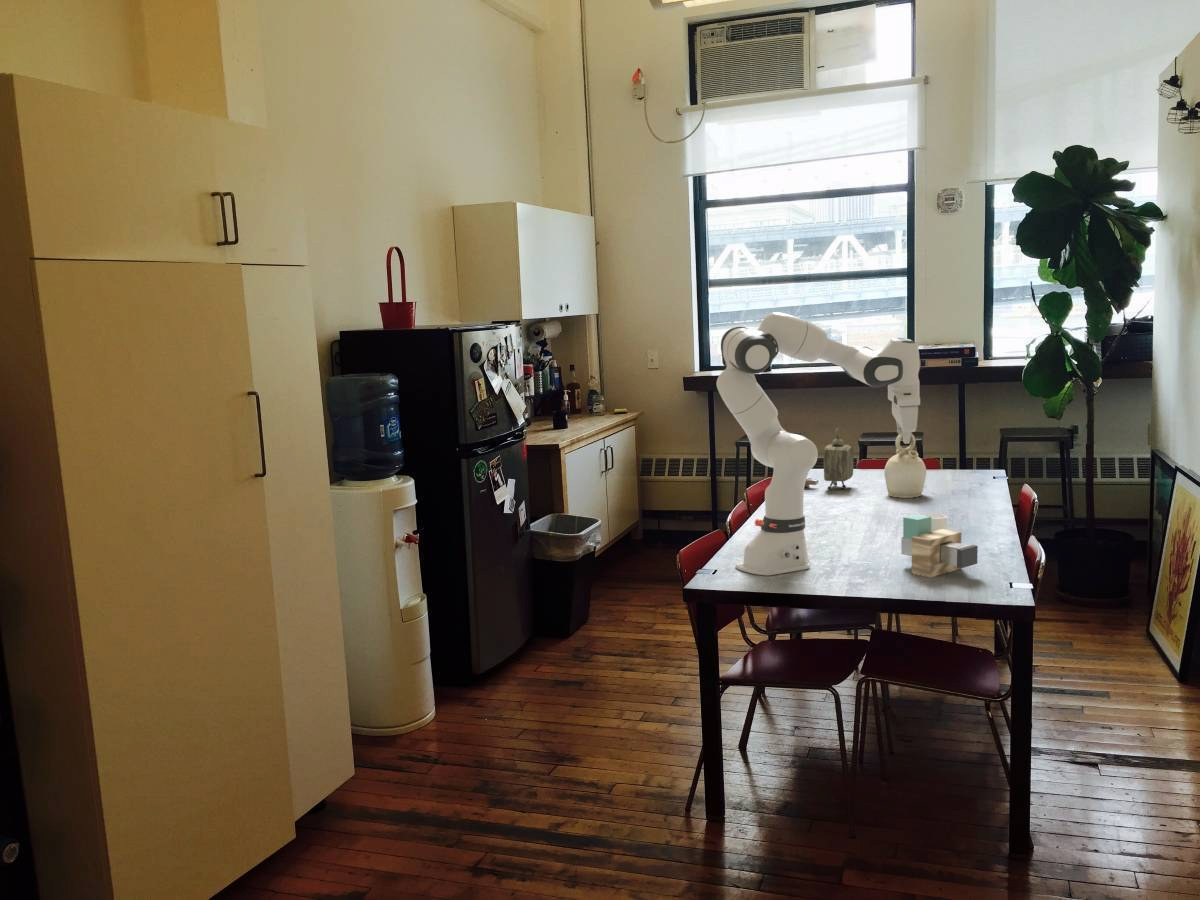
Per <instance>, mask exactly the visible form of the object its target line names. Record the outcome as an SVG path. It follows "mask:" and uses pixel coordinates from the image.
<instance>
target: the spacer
mask: <svg viewBox="0 0 1200 900" xmlns="http://www.w3.org/2000/svg"><path fill="white" fill-rule="evenodd" d="M931 518H932V517H930V516H924V515H920V514H911V515H908V516H904V517H903V518H902V519H903V520H902V521H903V523H902V525H903V526H902V529H903V530H902V533H903V534H902V535H903V536H902V537H903V538H906V539H911V540H912V537H913V536H917V535H921V534H925V533H929V532H931Z"/></svg>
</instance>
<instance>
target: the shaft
mask: <svg viewBox="0 0 1200 900" xmlns="http://www.w3.org/2000/svg"><path fill="white" fill-rule="evenodd" d="M978 546H979V545H975V544H970V545H969V544H966V543H961V544H960V543H955V542H950V541H949V542H945V543H941V544H940V563H945V564H950V565H954V566H957V567H958V568H961V569H963V568H967V567H971V566H973V565H978ZM900 548H901V549H900V550H901V555H904V556H909V557H912V540H911V539H906V538H903V536H902V537H901V547H900Z"/></svg>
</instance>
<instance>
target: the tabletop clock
mask: <svg viewBox="0 0 1200 900" xmlns="http://www.w3.org/2000/svg"><path fill="white" fill-rule="evenodd" d="M840 437H841V428H840V427H837V428H836V429H835V439H833V440H832V441H831V444H827V445H826V446H825V447H824V450H823V479H824V481H825V482H830V485H829V486H827V487H826V488H827V490H828V491H831V490H832V486H834V485H836V486H837V485H838V482H841V484H842V485H841V488H842V489H843V488H845V489H846V488H847V486H846V485H845V483H844V482H846V481H848V480H850V479H851V478H852V477H853V475H854V447H852V446H850V445H849V444H845V441H844V440H843V439H841V438H840Z"/></svg>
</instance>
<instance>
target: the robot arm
mask: <svg viewBox="0 0 1200 900" xmlns="http://www.w3.org/2000/svg"><path fill="white" fill-rule="evenodd" d="M720 351H721V352H720V353H721V360H722V365H723V366H725V369H723V371H722V372H721V373H720V374H719V375H718V377H717V379H716V388H717V391H718V393H719V395H720V397H721V399H722V401H723V403H724V404H725V406H726V407H727V408H728V410H729V412H730V413H731V414H732V416H733V418H734V419H735V420H736V421H737V423H738V424H739V426H740V427H741V429H743V431H744V432H745V434H746V435H747V439H748V440H749V444H750V451H751V452H750V453H751V455H752V456H753V459H755V460H756V461H758V462H759V463H760V464H762V465H763V466H765V467H769V468H773V473H772V478H771V480H770V483H769V485H768V486H767V487H766V488H765V490H764V507H765V508H764V510H765V511H764V513H765V514H764V516H763V519H758V518H756V519H755V520H754V525H755V527H759V528H760V531H758V532H757V534H756V535H755V536H754V537H753V539H752V540H751V541H749V542H748V543H747V544H746V546H745V548H744V551H743V560H741V561H739V562H736V563H735V569H737V570H739V571H741V572H746V573H749V574H753V575H760V576H773V575H780V574H785V573H792V572H797V571H804V570H809V569H810V568H811V562H810V559H809V555H808V549H807V541H806V537H805V528H806V517H805V515H804V494H805V493H804V492H805V485H806V481H807V477H808V474H809V472H810V470H811V469H813V467H814V466H815V465H816V463H817V461H818V456H819V455H818V454H819V453H818V448H817V445H815V443H814V442H813V441H811V439H809V438H807V437H806V436H804V435H802V434H796V433H791V432H788V431H786V430H785V429H784V428H783V427H782V425H781V424H780V421H779V418H778V416H779V412H778V409H777V407H776V406H775V405H774V403H773V401H772V400H771V399H770V398H769V396H768V395H767V394H766V392H765V391H764V389H763V388H762V386H761V385H760V384H759V383H758V382H757V378H756V376H755V375H756V374H760V373H764V372H765V371H766V370H768V368H769V367H770V366H771V364H772V362H773V361H774V359H775V358H776V357H777V355H778V354H783V355H784V356H788V357H790V358H791V359H795V360H798V361H803V362H808V363H812V362H815V361H817V360H818V359H820V360H824V361H825V362H827V363H828V362H829V363H831V364H833V365H836V366H838V367H840V368H842V370H843V371H844V372H845V373H846V374H847V376H848V377H850V378H852V379H854V380H856V381H860V382H861V383H863V384H865V385H868V386H869V387H873V388H881V387H882V388H883V387H886V386H887V399H888V400H889V401H890V402H891V415H892V416H893V418H894V420H895V421H896V432H897V434H898V435H899V434H903V438H902V442H903V443H904V444H905V445H906V444H909V445H910V444H911V439H910V437H911V434H912V433H914V432H916V430H917V427H918V416H919V406H920V405H921V395H920V379H919V373H920V367H921V365H920V363H921V362H920V351H919V346H918V344H917V342H915V341H914V340H912V339H910V338H905V337H893V338H891V339H890V340H889V341H888V342H887V343H886V344H885V345H884V346H882V347H881V348H879V349H877V350H874V349H872V348H871V347H868V346H864V345H857V346H849V345H846V344H843V343H841V342H839V341H836V340H833V339H832V338H829V337H828V335H827V333H826V331H825V330H824V329H823V328H821V327H820V326H819V325H816V324H814V323H813V322H810V321H808V320H806V319H803V318H801V317H798V316H795V315H791V314H788V313H783V312H776V311H775V312H770V313H769V314H767V315H766V316H765V317H764V318H763V320H762V321H761V323H760V326H759V327H757V328H756V329H754V330H752V329H750V328H748V327H745V326H736V327H735V326H734V327H732V328H730V329H728V330H727V331H725V333H724V334H723V335H722V337H721V340H720Z"/></svg>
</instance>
